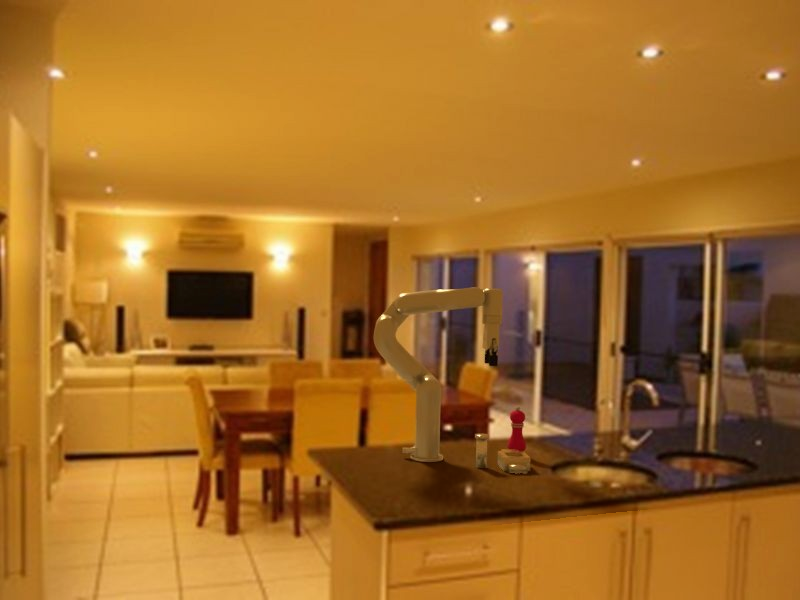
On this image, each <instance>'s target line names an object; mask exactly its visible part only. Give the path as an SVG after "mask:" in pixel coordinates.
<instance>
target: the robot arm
mask: <svg viewBox="0 0 800 600" xmlns="http://www.w3.org/2000/svg"><path fill="white" fill-rule="evenodd" d="M503 295H504V294H503V290H502V289H500V288H480V287H477V286H476V287H473V286H472V287H466V288H457V289H456V288H455V289H433V290H422V291H412V292H402V293H399V295H398V296H397V297H396V298H395V299H394V300H393V302H392V303H391V304H390V305H389V306H388V307H387V308H386V309H385V310H384V312H382V314H380V316H379V317H378V318H377V319H376V321H375V326H374V330H373V343H374V346H375V348H376V351H377V352H378V353H379V355H380V356H381V357H382V358H383V360H384V361H386V362H387V364H388V365H389V366H390V367H391V368H392V369H393V371H395V372H396V373H397V375H398V376H399V377H400V378H401V379H402V380H403V381H405V382H406V383H407V385H408V386H409V387H410V388H411V389H412V390H414V391H415V393H416V398H415V423H414V424H415V425H414V426H415V429H414V430H415V431H414V445H413V446H411V447H402V453H404V454H405V453H406V454H410V459H411V460H413V461H417V462H423V463H436V462H441V461H443V459H444V455H443V454H441V453H440V442H441V441H440V440H441V438H440V437H441V432H440V431H441V406H442V405H441V404H442V394H443V391H442V385H441V383H440V382H439V379H438V378H436V377H435V376H434V374H433V373H431V372H430V371H429V370H428V369H427V368H426V366H424V365H423V364H422V363H421V361H419V359H418V358H417V357H415V356H414V355H411V353H410V352H409V351H408V350H406V348H405V347H404V346H403V345H402V344H401V343H400V342H399V340H398V338H397V337H396V334H397V332H398V329H399V328H400V327H401V325H402V324H403V323H404V322H405V321H406V319H407V318H409V317H410V316H411V315H418V314H419V315H420V314H427V313H428V314H429V313H438V312H439V313H440V312H446V311H451V310H452V311H453V310H461V309H462V310H463V309H471V308H478V307H482V315H481V316H482V318H481V319H482V320H481V321H482V322H481V323H482V325H483V334H482V348H483V349H484V364H488V366H489V367H498V365H499V364H498V363H499V361H498V359H499V353H498V350H499V348H500V347H499V346H500V325H502V323H503V322H502V321H503V299H504V298H503Z"/></svg>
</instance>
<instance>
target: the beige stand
mask: <svg viewBox="0 0 800 600" xmlns="http://www.w3.org/2000/svg"><path fill="white" fill-rule="evenodd" d="M498 465H499V466H498ZM497 466H498V468H499V469H502V470H503V471H502V470H501V471H502V472H508V474H510V473H515V474H514V475H521V474H520V473H523V474H522V475H527V474H528V473H529V472H528V471H530V472H531V456H529V455H528V453H526V452H525V451H523V452H520V451H519V450H517V449H508V448H501V450H500V451H499V450H498V451H497ZM518 473H519V474H518Z"/></svg>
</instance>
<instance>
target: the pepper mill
mask: <svg viewBox="0 0 800 600" xmlns="http://www.w3.org/2000/svg"><path fill="white" fill-rule="evenodd" d="M509 419H510V421H511V423H510V426H511V435H510V437H509V438H508V442H507V449H517V450H519V451H520V452H525V450H526V448H527V443H526V440H525V438H524V435H523V428H524V425H525V423H524V421H525V420H526V413H524V411H521V408H520V406H515V410H513V411H511V412H510V413H509Z"/></svg>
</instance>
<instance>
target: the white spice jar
mask: <svg viewBox="0 0 800 600" xmlns="http://www.w3.org/2000/svg"><path fill="white" fill-rule="evenodd" d="M474 438H475V439H476V444H475V445H476V447H475V449H476V450H475V452H476V454H475V468H476V469H478V468H486V469H487V468H488V465H487V464H488V440H489V439H490V434H488V433H475V434H474Z"/></svg>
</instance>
